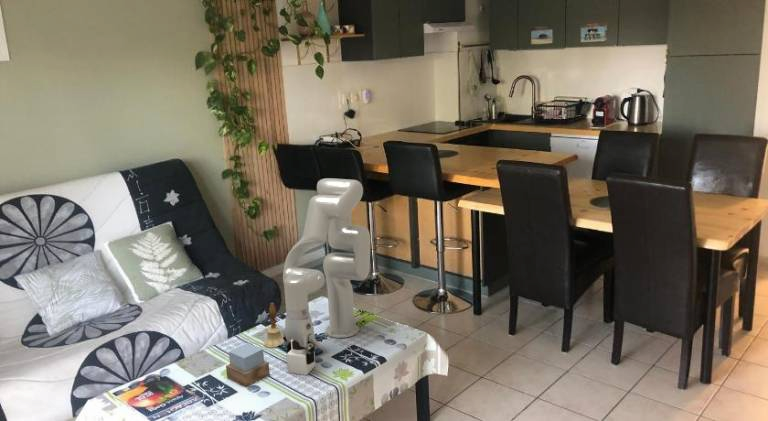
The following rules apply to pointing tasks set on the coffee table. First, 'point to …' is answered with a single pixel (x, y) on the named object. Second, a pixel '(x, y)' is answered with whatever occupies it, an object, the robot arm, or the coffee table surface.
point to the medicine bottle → (298, 359)
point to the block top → (246, 357)
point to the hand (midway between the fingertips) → (300, 359)
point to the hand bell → (273, 330)
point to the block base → (247, 374)
